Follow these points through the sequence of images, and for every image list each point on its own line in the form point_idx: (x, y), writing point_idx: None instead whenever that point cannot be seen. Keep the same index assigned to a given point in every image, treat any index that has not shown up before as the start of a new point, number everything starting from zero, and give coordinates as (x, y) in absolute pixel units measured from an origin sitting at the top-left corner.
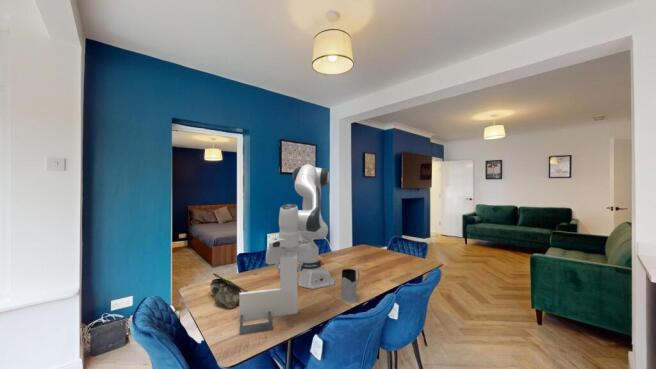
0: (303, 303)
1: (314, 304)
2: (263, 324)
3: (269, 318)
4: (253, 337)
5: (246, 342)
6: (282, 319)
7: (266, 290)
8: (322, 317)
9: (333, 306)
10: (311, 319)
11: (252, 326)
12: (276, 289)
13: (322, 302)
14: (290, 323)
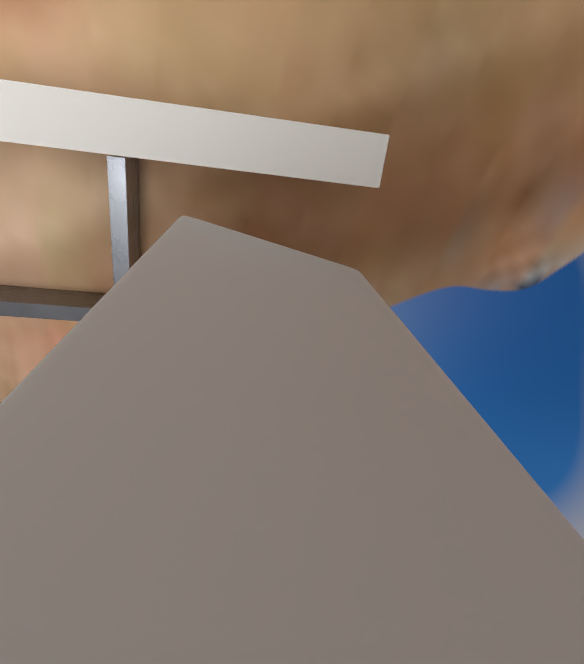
0: (431, 8)
1: (494, 74)
2: (74, 318)
3: (113, 264)
4: (36, 342)
5: (3, 372)
6: (214, 212)
7: (2, 108)
8: (441, 282)
9: (581, 172)
10: (376, 280)
11: (5, 313)
12: (134, 129)
13: (563, 67)
14: None
